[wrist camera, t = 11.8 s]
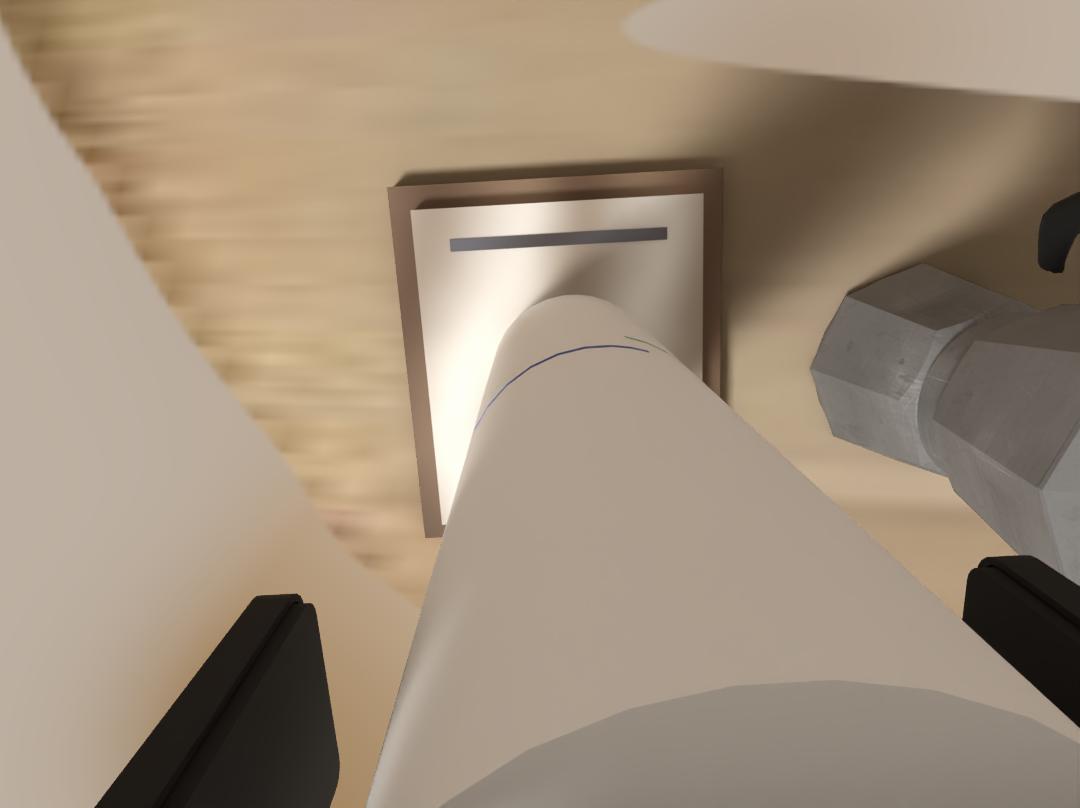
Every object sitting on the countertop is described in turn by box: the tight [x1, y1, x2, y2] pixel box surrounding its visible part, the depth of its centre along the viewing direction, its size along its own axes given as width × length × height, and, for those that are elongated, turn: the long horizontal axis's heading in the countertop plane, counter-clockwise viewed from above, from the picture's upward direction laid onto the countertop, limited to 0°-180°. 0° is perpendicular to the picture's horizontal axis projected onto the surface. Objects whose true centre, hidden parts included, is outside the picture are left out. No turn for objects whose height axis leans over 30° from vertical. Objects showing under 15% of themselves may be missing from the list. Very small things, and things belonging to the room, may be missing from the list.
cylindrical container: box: [365, 294, 1080, 808], centre depth 17 cm, size 7×7×25 cm
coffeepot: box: [810, 192, 1080, 586], centre depth 22 cm, size 15×9×18 cm, turn 2°
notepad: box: [387, 168, 723, 538], centre depth 30 cm, size 14×16×2 cm
